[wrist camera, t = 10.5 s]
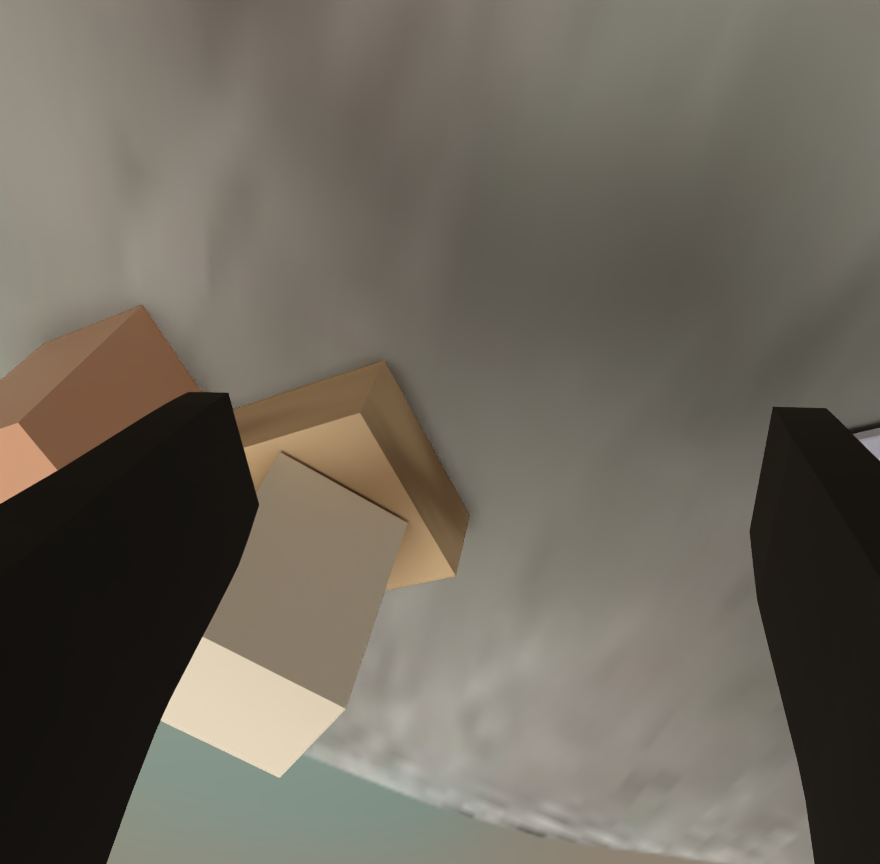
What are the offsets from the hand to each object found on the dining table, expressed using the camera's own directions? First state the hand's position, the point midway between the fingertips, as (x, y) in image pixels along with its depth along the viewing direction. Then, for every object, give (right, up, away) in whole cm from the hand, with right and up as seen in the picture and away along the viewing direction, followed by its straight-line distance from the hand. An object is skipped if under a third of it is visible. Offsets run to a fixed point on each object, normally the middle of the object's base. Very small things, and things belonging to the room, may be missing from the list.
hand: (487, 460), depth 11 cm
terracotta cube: (-10, +2, +14) cm, 17 cm away
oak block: (-4, -1, +15) cm, 15 cm away
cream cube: (-4, -2, +12) cm, 13 cm away
